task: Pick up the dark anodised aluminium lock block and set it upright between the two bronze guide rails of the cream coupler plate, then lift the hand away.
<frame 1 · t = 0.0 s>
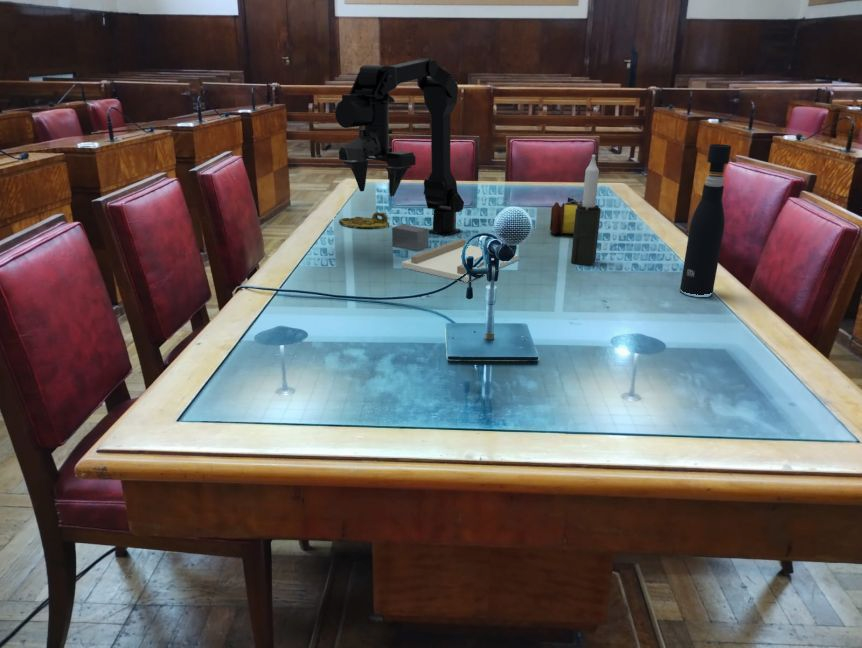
hand: (376, 193, 162), 15 cm above the table, fingers open, 9 cm apart
lock block: (410, 247, 174), on the table
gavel: (567, 226, 198), on the table
black water bottle: (695, 293, 144), on the table
candle: (582, 263, 164), on the table
seal: (364, 227, 194), on the table
coupler plate: (461, 263, 161), on the table
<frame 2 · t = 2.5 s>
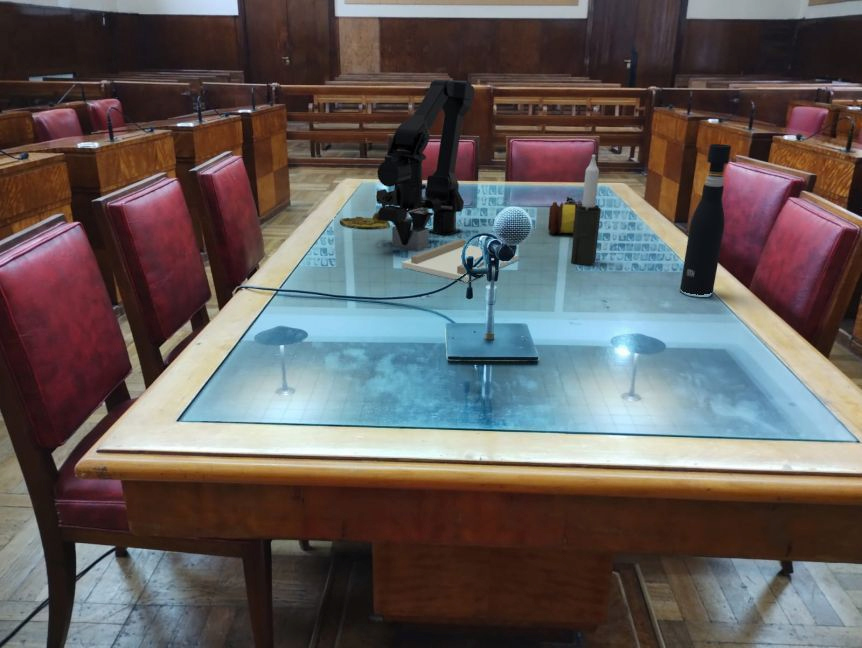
hand: (410, 242, 173), 1 cm above the table, fingers closed on lock block, 4 cm apart
lock block: (410, 247, 174), on the table, touching gripper
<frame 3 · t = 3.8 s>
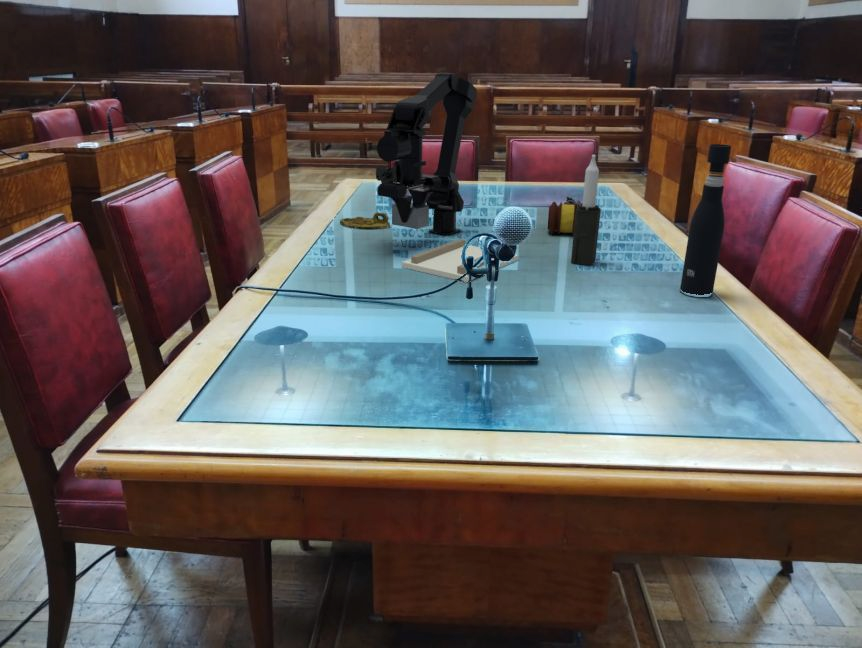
hand: (410, 220, 171), 7 cm above the table, fingers closed on lock block, 4 cm apart
lock block: (410, 225, 172), point 6 cm above the table, touching gripper
everything else where it was.
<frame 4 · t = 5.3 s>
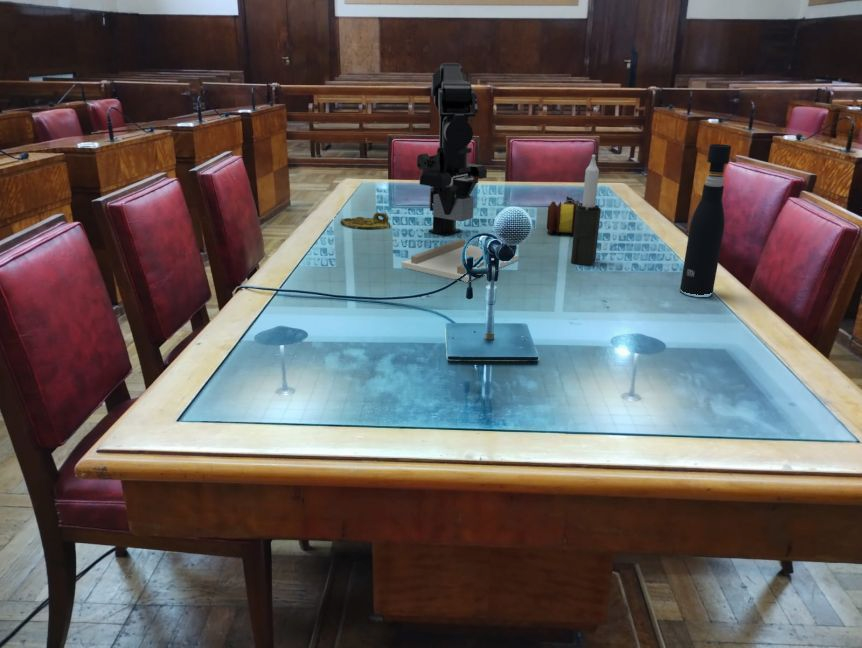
hand: (453, 213, 158), 11 cm above the table, fingers closed on lock block, 4 cm apart
lock block: (452, 217, 159), point 10 cm above the table, touching gripper
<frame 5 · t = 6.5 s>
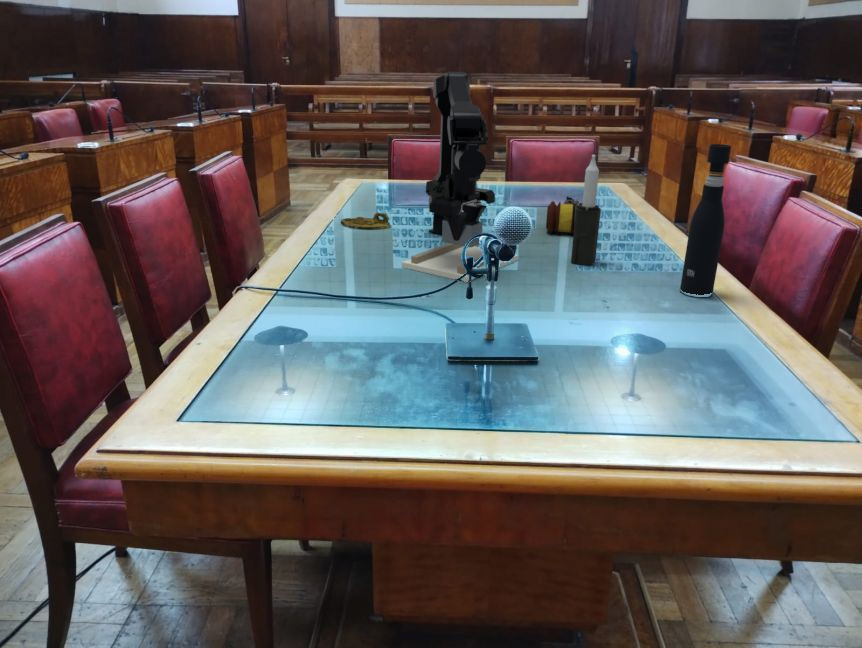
hand: (461, 238, 159), 6 cm above the table, fingers closed on lock block, 4 cm apart
lock block: (461, 242, 159), point 5 cm above the table, touching gripper
when the fingers open (3 cm above the table, at t = 7.7 s): lock block drops 1 cm, resting on coupler plate.
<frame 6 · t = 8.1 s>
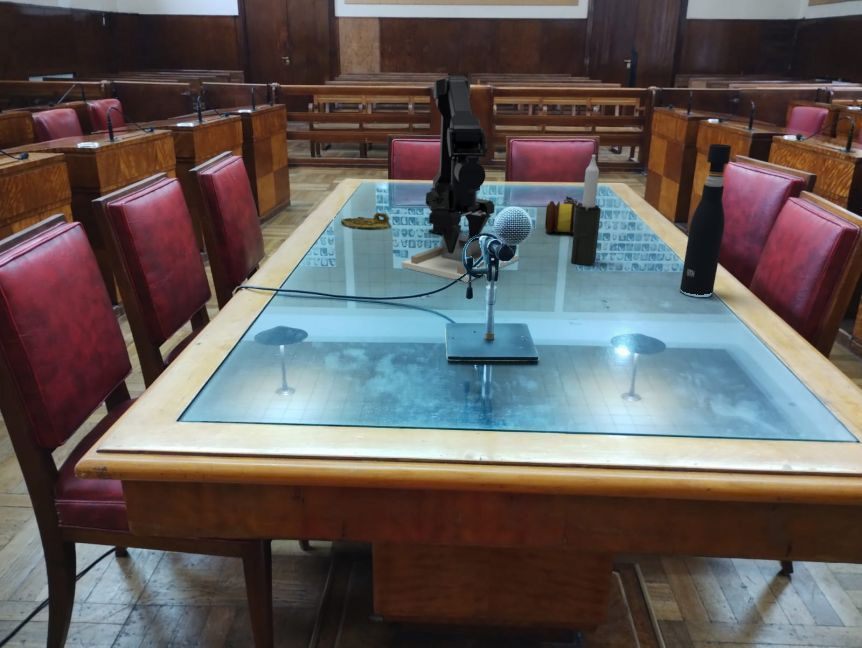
hand: (461, 248, 160), 3 cm above the table, fingers open, 9 cm apart
lock block: (461, 258, 161), point 1 cm above the table, touching coupler plate
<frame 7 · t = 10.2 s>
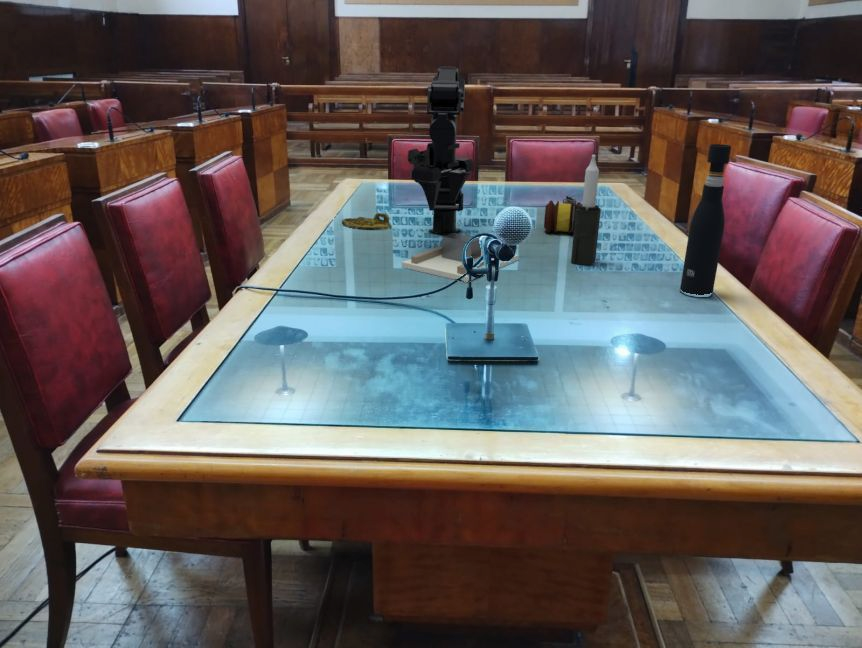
hand: (442, 204, 167), 11 cm above the table, fingers open, 9 cm apart
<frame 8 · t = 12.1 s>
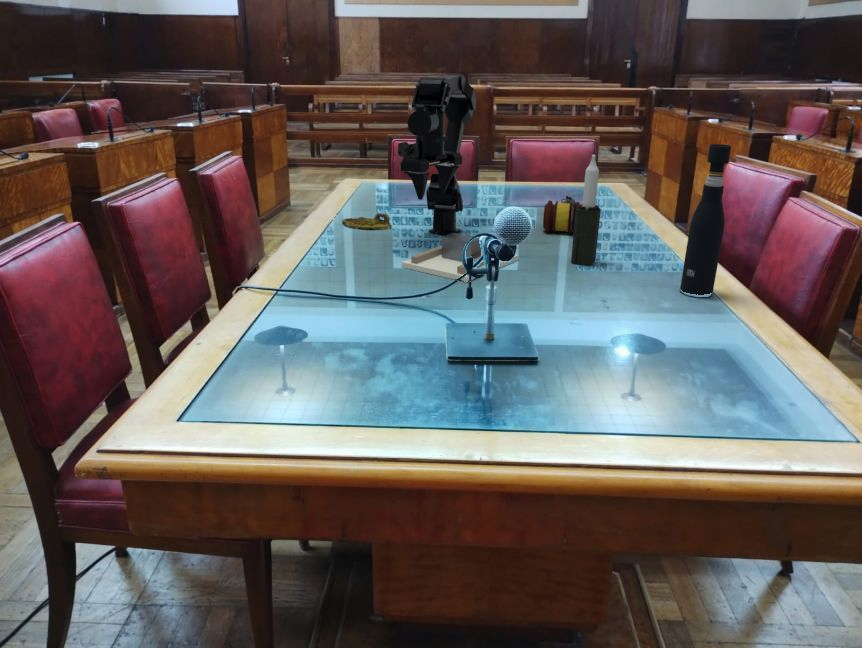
hand: (431, 196, 173), 12 cm above the table, fingers open, 9 cm apart
at the end: lock block inside the target area on the coupler plate (0.1 cm from its centre), point 1.2 cm above the coupler plate's base; lock block tilted 0°; the gripper is holding nothing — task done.
